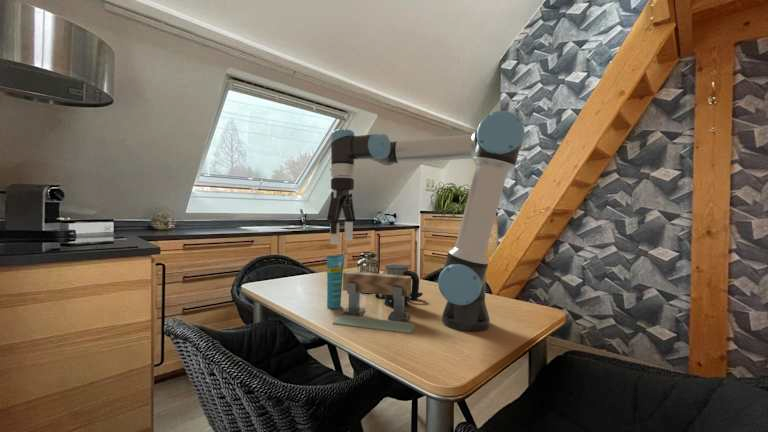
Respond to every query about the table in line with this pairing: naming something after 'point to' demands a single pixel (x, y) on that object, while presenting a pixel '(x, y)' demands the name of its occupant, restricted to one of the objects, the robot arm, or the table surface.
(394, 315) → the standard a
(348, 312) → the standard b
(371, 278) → the rail
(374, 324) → the felt mat
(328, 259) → the tube
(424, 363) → the table surface
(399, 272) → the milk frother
